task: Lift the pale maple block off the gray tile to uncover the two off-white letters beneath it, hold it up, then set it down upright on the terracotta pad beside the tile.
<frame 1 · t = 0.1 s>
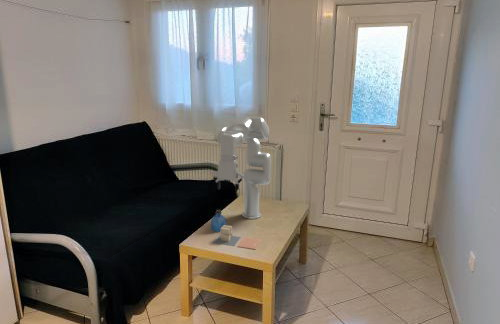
hand: (227, 189, 187), 31 cm above the table, tool pointing down, fingers open, 9 cm apart
maple block: (226, 238, 200), resting on gray tile
perfume bottle: (218, 229, 213), on the table
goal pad: (249, 243, 195), on the table
gray tile: (227, 240, 199), on the table
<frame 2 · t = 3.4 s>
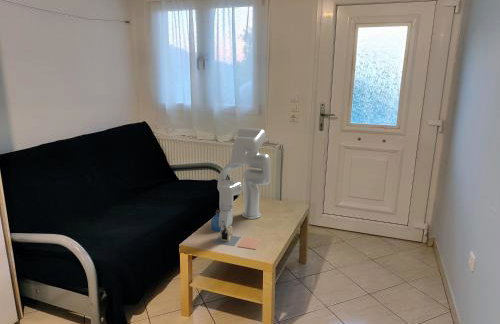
hand: (226, 236, 200), 1 cm above the table, tool pointing down, fingers closed on maple block, 4 cm apart
maple block: (226, 238, 200), resting on gray tile, touching gripper
everything else where it was.
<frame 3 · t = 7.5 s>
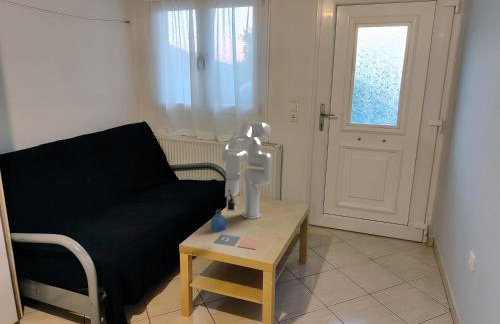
hand: (232, 207, 195), 19 cm above the table, tool pointing down, fingers closed on maple block, 4 cm apart
maple block: (232, 209, 195), point 18 cm above the table, touching gripper
everything else where it was.
when the fingers open (3 cm above the table, at t = 11.6 s): maple block drops 1 cm, resting on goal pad.
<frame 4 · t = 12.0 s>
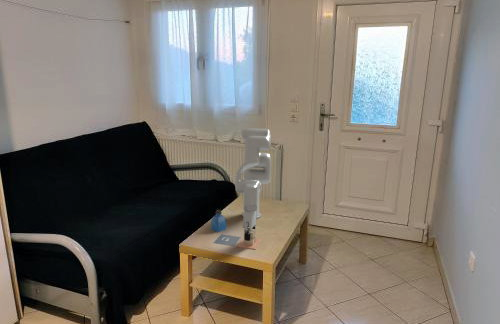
hand: (249, 236, 194), 4 cm above the table, tool pointing down, fingers open, 9 cm apart
maple block: (249, 242, 195), point 1 cm above the table, touching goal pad
everything else where it was.
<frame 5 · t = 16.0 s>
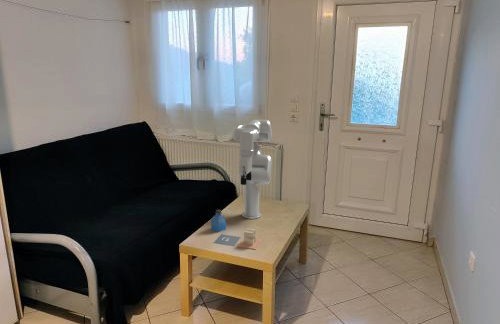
hand: (246, 182, 204), 30 cm above the table, tool pointing down, fingers open, 9 cm apart
nothing on the table moved.
at the end: maple block inside the target area on the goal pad (0.1 cm from its centre), point 0.6 cm above the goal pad's base; maple block tilted 0°; the gripper is holding nothing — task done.
